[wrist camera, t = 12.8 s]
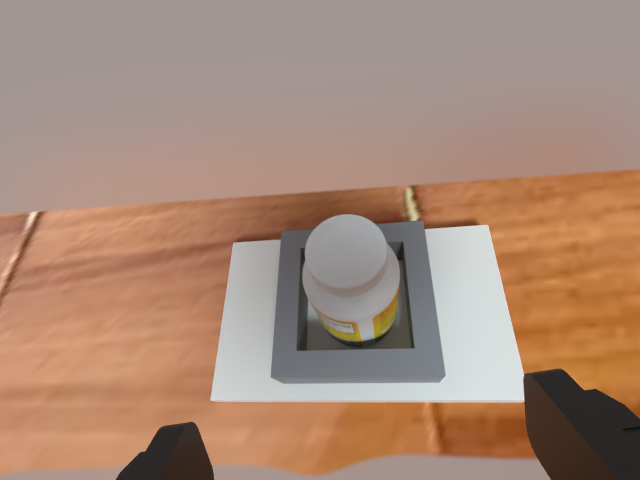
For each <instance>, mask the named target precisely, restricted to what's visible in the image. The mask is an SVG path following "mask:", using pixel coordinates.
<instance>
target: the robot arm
mask: <svg viewBox="0 0 640 480" xmlns="http://www.w3.org/2000/svg"><path fill="white" fill-rule="evenodd" d="M523 386H524V401H525V416H526V429H527V433H528V437H529V440H530V443H531V446H532V448H533V450H534V453H535V454H536V456H537V458H538V460H539V461H540V463H541V465H542V466H543V468H544V469H545V471H546V472H547V474H548V476H549V477H550V479H551V480H640V419H639V418H638V417H637V416H636V415H635V414H634V413H633V412H632V411H630V410H629V409H628V408H627V407H626V406H625V405H624V404H622V403H620V402H618V401H617V400H615V399H613V398H611V397H609V396H607V395H606V394H604V393H602V392H600V391H598V390H597V389H592V390H585V391H584V390H583V389H582V388H581V387H580V386H579V385H578V384H577V383H576V382H575V381H574V380H573V379H572V378H571V377H570V376H569V375H568V374H567V373H566V372H565V371H564V370H562V369H553V370H546V371H539V372H533V373H526V374H525V375H524V378H523ZM116 480H214V474H213V469H212V465H211V463H210V460H209V457H208V454H207V452H206V449H205V446H204V443H203V441H202V438H201V435H200V432H199V430H198V427H197V425H196V424H195V423H193V422H187V423H181V424H174V425H167V426H163V427H161V428H160V429H159V430H158V431H157V433H156V435H155V436H154V438H153V440H152V441H151V443H150V445H149V446H148V448H147V450H146V451H145V452H140V453H139V454H138V455H137V456H136V457H135V458H134V459H133V460H132V461H131V462H130V463H129V464H128V465H127V466H126V467H125V468H124V469H123V470H122V471H121V472H120V474H119V475H118V477H117V479H116Z"/></svg>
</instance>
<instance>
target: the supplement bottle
mask: <svg viewBox="0 0 640 480" xmlns="http://www.w3.org/2000/svg"><path fill="white" fill-rule="evenodd" d="M302 280H303V286H304V290H305V293H306V295H307V297H308V299H309V301H310V303H311V305H312V306H313V308H314V310H315V312H316V313H317V315H318V317H319V319H320V321H321V322H322V324H323V326H324V328H325V329H326V331H327V332H328V333H329V335H330V336H331V337H332V338H333V339H335V340H336V341H338V342H339V343H341V344H343V345H346V346H349V347H356V348H361V347H368V346H371V345H374V344H376V343H378V342H379V341H381V340H382V339H383V338H385V337H386V335H387V334H388V333H389V332H390V330H391V329H392V327H393V325H394V323H395V320H396V316H397V308H398V307H397V306H398V294H399V284H400V269H399V263H398V260H397V258H396V255H395V253H394V252H393V250H392V249H391V247H390V246H389V245H388V244H387V243H386V239H385V237H384V235H383V233H382V231H381V230H380V229H379V228H378V226H377V225H375V224H374V223H373V222H372V221H370V220H369V219H367V218H365V217H362V216H358V215H353V214H343V215H337V216H334V217H331V218H328V219H327V220H325V221H323V222H322V223H320V224H319V225H318V226H317V227H316V228H315V229H314V230H313V231H312V232H311V234H310V236H309V238H308V240H307V242H306V246H305V263H304V266H303V273H302Z"/></svg>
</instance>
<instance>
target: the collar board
mask: <svg viewBox="0 0 640 480" xmlns="http://www.w3.org/2000/svg"><path fill="white" fill-rule="evenodd" d="M375 225H377V226H378V228H379V229H380V230H381V231H382V233H383V235H384V237H385V239H386V243H387V244H388V245H389V246H390V247H391V249H392V250H393V252H394V253H395V255H396V258H397V260H398V263H399V269H400V284H399V294H398V306H397V307H398V308H397V316H396V320H395V323H394V325H393V327H392V329H391V330H390V332H389V333H388V334H387V335H386V337H385V338H383V339H382V340H381V341H379V342H378V343H376V344H374V345H371V346H368V347H361V348H356V347H349V346H346V345H343V344H341V343H339V342H338V341H336V340H335V339H333V338H332V337H331V336H330V335H329V333H328V332H327V331H326V329H325V328H324V326H323V324H322V322H321V321H320V319H319V317H318V315H317V313H316V312H315V310H314V308H313V306H312V305H311V303H310V301H309V299H308V297H307V295H306V293H305V290H304V286H303V280H302V273H303V266H304V263H305V246H306V242H307V240H308V238H309V236H310V234H311V232H312V231H313V230H314V229H302V230H289V231H281V239H279V240H265V241H251V242H237V243H233V248H232V255H231V262H230V269H229V276H228V283H227V290H226V297H225V304H224V310H223V317H222V324H221V331H220V338H219V345H218V352H217V359H216V366H215V373H214V379H213V386H212V393H211V400H212V401H217V402H525V401H524V386H523V378H524V373H523V369H522V365H521V360H520V356H519V352H518V348H517V344H516V340H515V335H514V331H513V327H512V323H511V319H510V315H509V310H508V306H507V302H506V298H505V294H504V290H503V286H502V281H501V277H500V273H499V269H498V265H497V261H496V256H495V252H494V248H493V244H492V240H491V236H490V231H489V227H488V225H477V226H463V227H449V228H434V229H425V227H424V220H423V221H410V222H396V223H383V224H375Z"/></svg>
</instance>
